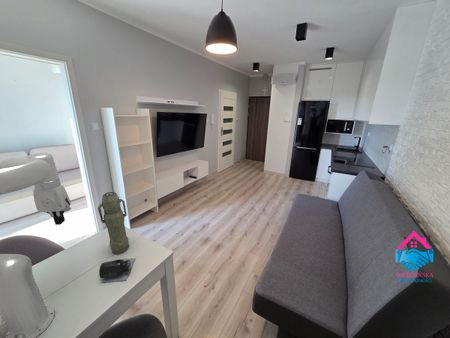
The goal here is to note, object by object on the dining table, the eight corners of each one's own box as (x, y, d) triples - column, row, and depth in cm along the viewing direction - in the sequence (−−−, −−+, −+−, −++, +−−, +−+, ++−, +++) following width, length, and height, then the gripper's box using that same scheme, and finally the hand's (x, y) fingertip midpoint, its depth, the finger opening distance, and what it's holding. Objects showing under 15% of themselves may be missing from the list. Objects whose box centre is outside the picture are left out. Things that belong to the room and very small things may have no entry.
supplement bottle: (105, 273, 89) (131, 268, 92) (99, 282, 82) (128, 276, 85) (104, 259, 89) (130, 255, 92) (98, 267, 82) (127, 262, 85)
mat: (126, 280, 85) (125, 280, 85) (103, 282, 84) (102, 282, 83) (135, 258, 97) (135, 258, 97) (115, 260, 96) (115, 259, 96)
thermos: (106, 249, 102) (93, 194, 91) (129, 240, 110) (119, 187, 99) (110, 259, 96) (97, 201, 85) (134, 247, 104) (124, 193, 93)
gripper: (17, 188, 68) (33, 229, 74) (61, 187, 70) (73, 227, 76) (35, 180, 75) (48, 218, 81) (74, 180, 77) (84, 217, 83)
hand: (60, 222), depth 78 cm, fingers closed
